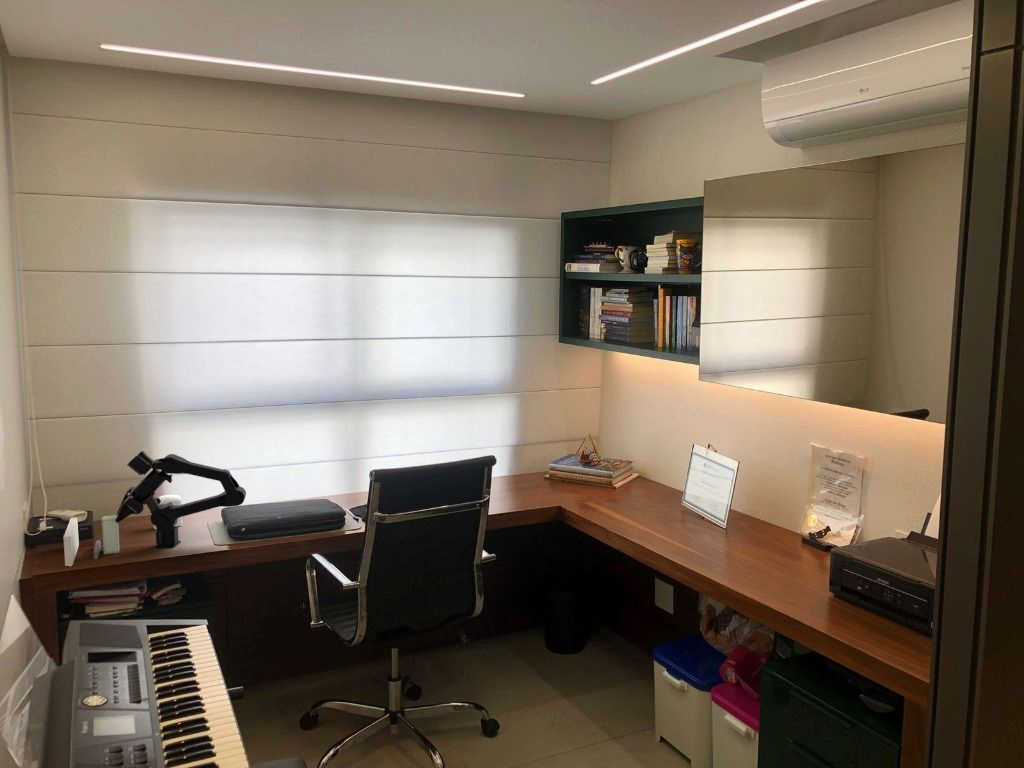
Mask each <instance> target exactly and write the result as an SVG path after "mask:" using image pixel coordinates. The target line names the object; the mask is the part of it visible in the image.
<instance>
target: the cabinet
mask: <svg viewBox="0 0 1024 768" xmlns="http://www.w3.org/2000/svg"><path fill="white" fill-rule="evenodd" d="M117 516H118V515H117V514H115V515H105V516H102V518H101V527H102V546H103V555H108V554H119V553H120V535H119V534H120V533H119V522H118V523H117V522H116V521H115V520H116V518H117Z"/></svg>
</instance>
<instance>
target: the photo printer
mask: <svg viewBox="0 0 1024 768" xmlns="http://www.w3.org/2000/svg"><path fill="white" fill-rule="evenodd" d="M158 497H159V498H160V500H161V502H160V504H159V505H161V504H167V503H169V502H172V505H182V498H181V496H180V495H176V494H165V495H160V496H157V497H156V498H158ZM152 525H153V524H152ZM175 526H176V527H177V526H178V527H182V526H183V517H180V518H178V521H177V524H176V525H175ZM153 529H154V530H157V528H156V526H155V525H153Z"/></svg>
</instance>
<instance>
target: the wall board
mask: <svg viewBox="0 0 1024 768" xmlns="http://www.w3.org/2000/svg"><path fill="white" fill-rule="evenodd" d="M78 525H79V524H78V517H70V519H69V522H68V524H67V528H66V529H65V533H63V548H64V549H63V550H64V565H65V566H69V567H73V566H72V565H74V562H75V558H76V556H77V552H78V549H79V546H80V542H79V540H80V539H79V529H78V528H79V527H78ZM101 544H102V543H101V539H98V540H97V539H96V540H95V544H94V548H93V560H98V559H99V555H100V553H101V552H100V550H101Z"/></svg>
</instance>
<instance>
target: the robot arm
mask: <svg viewBox="0 0 1024 768" xmlns="http://www.w3.org/2000/svg"><path fill="white" fill-rule="evenodd" d="M126 466H127V467H129V468H130V469H131V470H132V471H134V472H135V473H136V474H137V475H139V476H143V475H144V476H145V475H146V474H147V473H148V472H149V471H150V470H151V471H150V472H149V473H148V474H147V475H146V476H145V477H143V479H141V480H140V481H139V483H138V484H137V486H130V487H129V488H128V489H127V490H126V492H125V493H124V497H123V498H122V500H121V503H120V506H119V508H118V510H117V512H116V515H118V516H117V518H116V520H115V521H116V522H117V523H118V524H119V523H120V522H121V521H123V520H124V519H126V518H127V517H129V516H130V515H140V514H141V513H142V512H143V511H144V507H145V505H146V506H147V508H148V509H149V512H150V513H151V515H150V522H151V524H152V525H155V526H156V528H157V529H156V532H155V546H154V547H155V548H175V547H176V546H177V545H179V544H181V542H182V541H181V540H180V539H179V526H178V527H176V526H175V525H176V524H177V521H178V518H180V517H182V518H184V517H186V516H187V517H188V516H190V515H194V514H198V513H200V512H201V513H202V512H205V511H209V510H213V509H215V508H220V507H224V508H230V507H238V506H241V505H242V504H243V503H244V501H245V499H246V496H247V491H246V489H245V488H244V487H243V486H241V485H240V484H239V483H238V481H237V480H236V479H235V478H234V476H232V474H231V471H230V470H228V469H225V468H224V469H223V468H218V467H214V466H211V465H210V466H209V465H205V464H201V463H196V462H191V461H190V460H187V459H186V458H185V457H182V456H179V455H177V454H174V453H170V454H167V455H166V456H165V457H163V458H162V457H161V458H156V459H153V458H151V457H150V456H149V455H148V454H147V453H146V452H145V451H143V450H141V451H140V452H138V454H137V455H135V456H134V457H133V458H132V459H131V460H130V461H129V462H128V463H127V464H126ZM176 474H177V475H181V474H182V475H183V474H184V475H185V474H186V475H191V476H196V477H199V478H200V477H201V478H204V479H208V480H209V479H210V480H212V481H213V480H214V481H217V482H220V484H221V486H222V488H223V490H224V491H222V492H221V493H219V494H217V495H213V496H209V497H206V498H202V499H197V500H195V501H190V502H187V503H184V504H182V505H172V502H169V503H167V504H161V505H159V504H160V502H161V500H160V498H159V497H160V496H157V497H158V498H157V497H155V493H156V491H157V490H158V489H159V488H160V487H161V486H162V485H163V484H164V483H165V482H166V481H167V482H168V483H169V484H172V483H173V475H176Z"/></svg>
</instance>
